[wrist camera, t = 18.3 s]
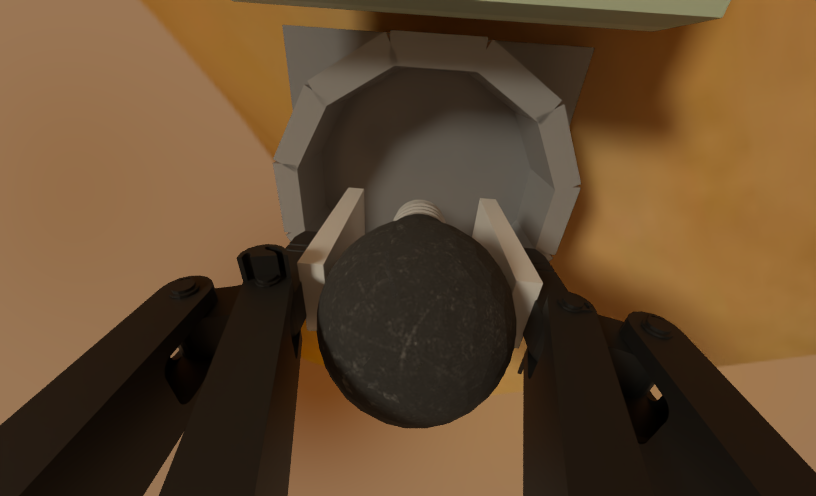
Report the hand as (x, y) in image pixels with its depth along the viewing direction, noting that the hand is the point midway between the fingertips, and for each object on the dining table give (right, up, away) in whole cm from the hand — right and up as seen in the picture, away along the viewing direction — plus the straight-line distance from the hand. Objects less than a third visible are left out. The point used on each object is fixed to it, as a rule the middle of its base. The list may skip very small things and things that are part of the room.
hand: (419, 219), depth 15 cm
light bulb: (0, 0, 0) cm, 1 cm away
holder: (0, +3, +5) cm, 6 cm away
